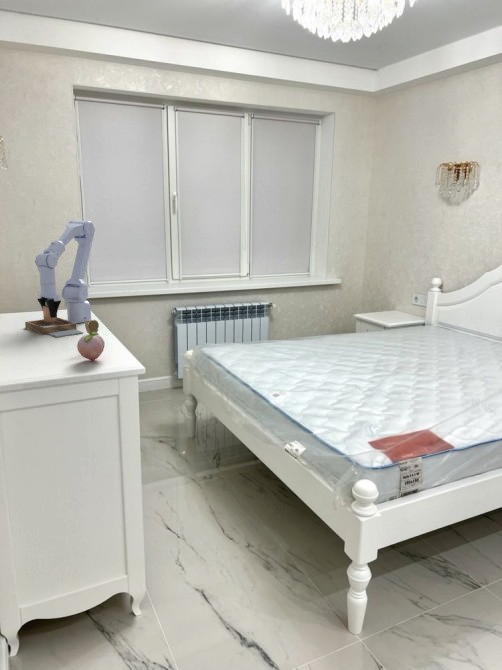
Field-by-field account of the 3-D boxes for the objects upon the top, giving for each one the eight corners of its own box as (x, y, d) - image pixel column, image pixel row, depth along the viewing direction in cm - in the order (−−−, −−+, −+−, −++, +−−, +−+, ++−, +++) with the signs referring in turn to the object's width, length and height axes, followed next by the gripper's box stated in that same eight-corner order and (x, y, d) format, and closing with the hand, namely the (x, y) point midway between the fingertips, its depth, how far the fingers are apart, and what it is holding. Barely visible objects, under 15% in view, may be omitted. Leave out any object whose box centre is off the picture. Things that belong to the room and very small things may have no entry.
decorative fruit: (82, 356, 167) (80, 327, 165) (107, 356, 168) (105, 328, 166) (74, 365, 158) (72, 334, 156) (100, 365, 159) (99, 334, 157)
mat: (74, 330, 204) (74, 329, 204) (83, 333, 199) (83, 332, 199) (48, 334, 196) (48, 333, 196) (56, 337, 191) (56, 336, 191)
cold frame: (58, 323, 216) (57, 317, 215) (76, 329, 205) (76, 323, 205) (25, 327, 206) (25, 321, 205) (43, 334, 195) (42, 328, 195)
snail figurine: (80, 349, 176) (78, 316, 173) (93, 345, 181) (92, 313, 179) (91, 351, 173) (90, 318, 171) (105, 347, 179) (103, 315, 176)
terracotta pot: (53, 318, 208) (52, 297, 206) (59, 320, 205) (58, 299, 203) (41, 320, 205) (39, 299, 203) (47, 322, 201) (45, 300, 199)
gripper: (30, 281, 203) (32, 314, 206) (46, 286, 194) (49, 320, 197) (46, 280, 208) (49, 312, 211) (63, 284, 199) (65, 317, 202)
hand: (50, 316), depth 204 cm, fingers closed on terracotta pot, 5 cm apart
